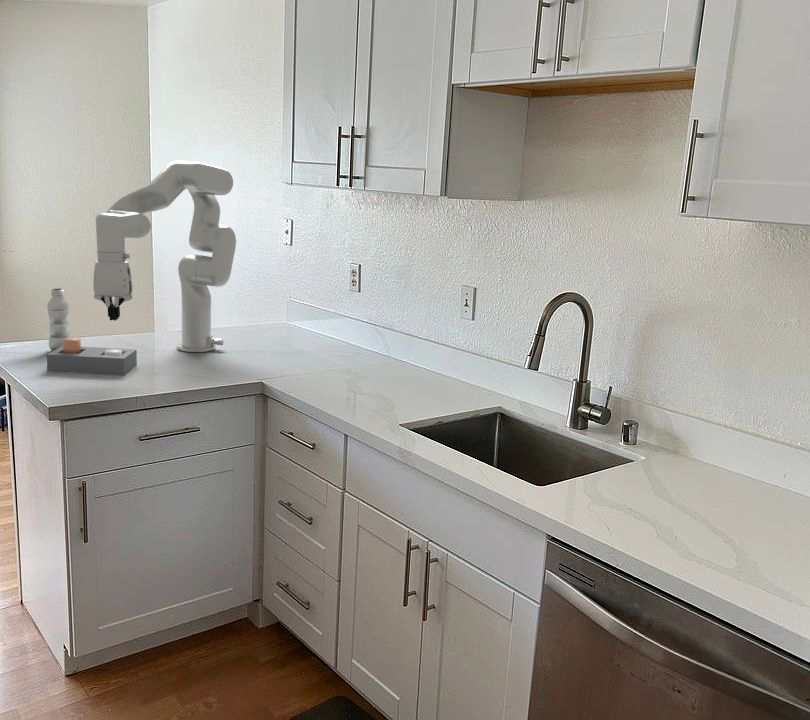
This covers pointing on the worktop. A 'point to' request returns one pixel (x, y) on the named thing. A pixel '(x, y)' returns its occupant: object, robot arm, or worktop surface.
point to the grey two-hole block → (92, 361)
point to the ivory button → (113, 352)
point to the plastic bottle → (58, 318)
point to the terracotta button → (72, 345)
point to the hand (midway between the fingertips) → (114, 319)
